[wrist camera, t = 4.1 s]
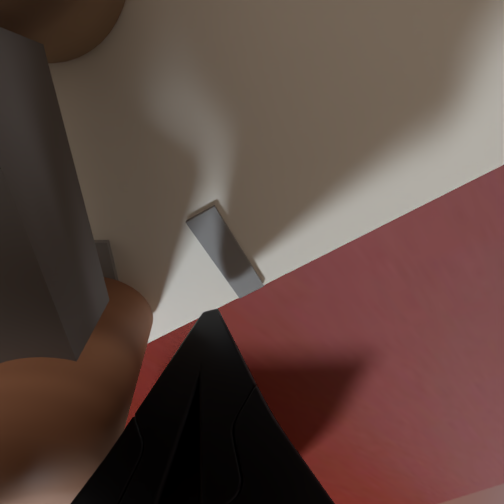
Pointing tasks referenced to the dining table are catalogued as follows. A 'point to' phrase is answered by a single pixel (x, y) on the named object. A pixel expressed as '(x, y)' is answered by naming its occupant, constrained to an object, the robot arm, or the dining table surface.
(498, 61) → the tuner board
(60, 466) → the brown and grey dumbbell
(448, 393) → the dining table surface
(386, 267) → the dining table surface
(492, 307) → the dining table surface
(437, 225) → the dining table surface
